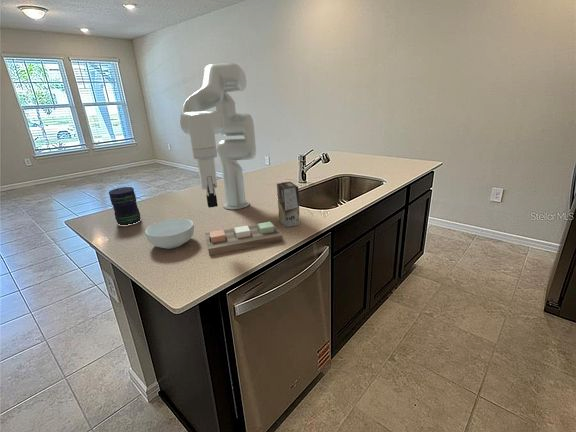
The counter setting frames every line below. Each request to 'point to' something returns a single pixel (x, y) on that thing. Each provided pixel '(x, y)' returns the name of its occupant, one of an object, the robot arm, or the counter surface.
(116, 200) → the storage jar
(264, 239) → the tile frame
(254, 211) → the counter surface
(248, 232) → the cream tile
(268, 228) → the sage tile
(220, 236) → the terracotta tile
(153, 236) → the cereal bowl
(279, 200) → the coffee box
